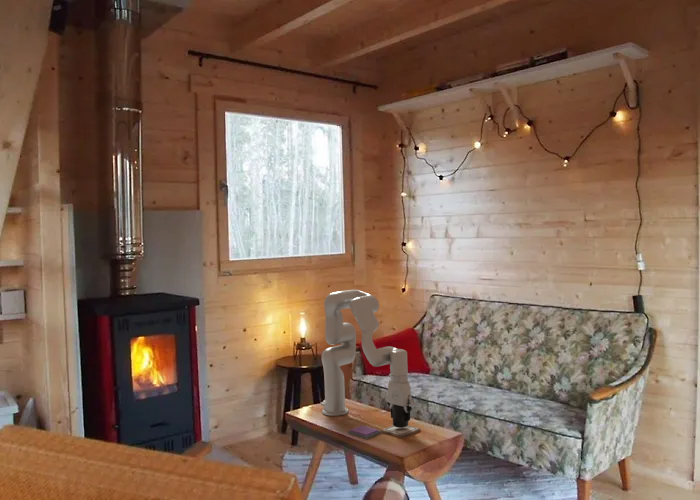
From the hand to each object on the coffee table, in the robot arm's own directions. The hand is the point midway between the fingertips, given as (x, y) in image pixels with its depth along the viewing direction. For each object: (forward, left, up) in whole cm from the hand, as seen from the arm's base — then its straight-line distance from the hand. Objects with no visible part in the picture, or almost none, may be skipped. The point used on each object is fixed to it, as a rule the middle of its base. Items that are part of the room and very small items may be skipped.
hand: (400, 418), depth 270 cm
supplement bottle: (0, 0, -3) cm, 3 cm away
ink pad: (-11, -11, -6) cm, 17 cm away
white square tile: (0, 0, -6) cm, 6 cm away
